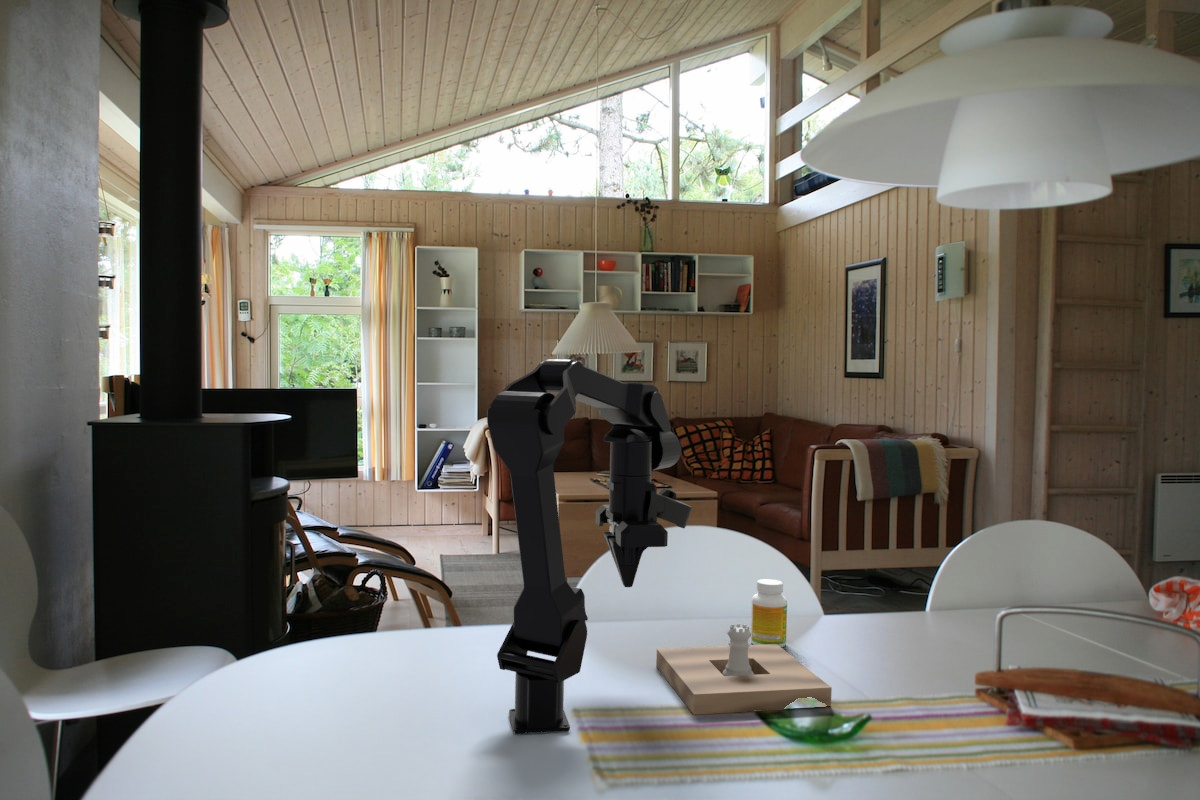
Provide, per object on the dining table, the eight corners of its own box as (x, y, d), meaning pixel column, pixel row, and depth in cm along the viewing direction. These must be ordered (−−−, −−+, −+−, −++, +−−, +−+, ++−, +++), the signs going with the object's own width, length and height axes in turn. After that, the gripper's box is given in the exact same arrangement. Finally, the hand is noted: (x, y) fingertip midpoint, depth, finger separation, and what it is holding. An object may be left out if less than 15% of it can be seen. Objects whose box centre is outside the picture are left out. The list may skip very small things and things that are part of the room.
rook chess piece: (754, 693, 117) (756, 632, 117) (720, 690, 118) (721, 629, 117) (755, 681, 121) (757, 623, 121) (722, 678, 122) (723, 620, 122)
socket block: (831, 707, 112) (831, 687, 112) (693, 714, 109) (694, 694, 109) (776, 660, 130) (776, 643, 130) (656, 666, 127) (656, 648, 127)
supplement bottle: (789, 649, 136) (790, 586, 135) (753, 648, 136) (755, 585, 135) (782, 639, 141) (784, 578, 141) (748, 638, 141) (750, 577, 141)
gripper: (707, 482, 115) (704, 602, 116) (669, 466, 133) (666, 570, 134) (623, 482, 113) (620, 605, 114) (596, 466, 131) (593, 571, 132)
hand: (627, 586), depth 123 cm, fingers closed
